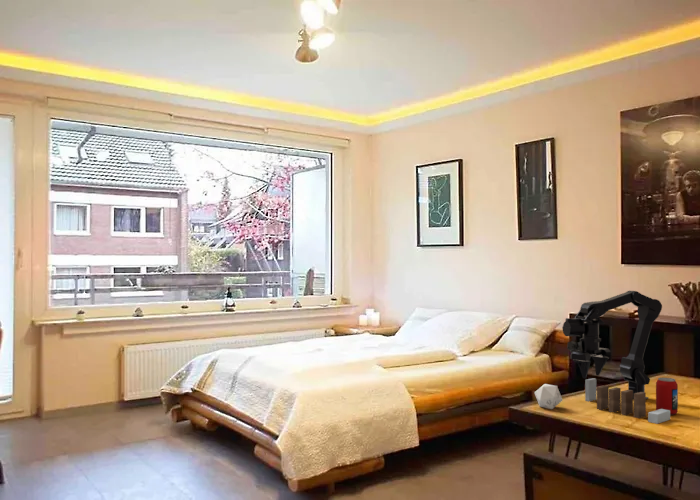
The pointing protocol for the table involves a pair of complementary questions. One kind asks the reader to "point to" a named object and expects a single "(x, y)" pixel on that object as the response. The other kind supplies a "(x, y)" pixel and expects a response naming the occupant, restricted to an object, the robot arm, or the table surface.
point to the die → (548, 396)
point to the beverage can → (667, 395)
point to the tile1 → (602, 397)
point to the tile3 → (626, 402)
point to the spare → (590, 389)
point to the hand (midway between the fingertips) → (591, 376)
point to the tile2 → (614, 399)
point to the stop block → (659, 416)
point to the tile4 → (639, 404)
